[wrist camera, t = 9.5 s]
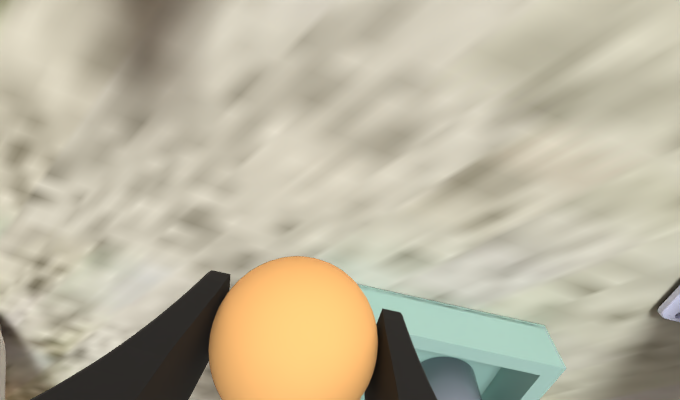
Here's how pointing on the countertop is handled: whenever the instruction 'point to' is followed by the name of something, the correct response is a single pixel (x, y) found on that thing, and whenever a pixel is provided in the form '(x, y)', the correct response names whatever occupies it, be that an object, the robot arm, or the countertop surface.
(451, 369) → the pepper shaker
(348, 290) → the ball
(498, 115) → the countertop surface
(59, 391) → the robot arm
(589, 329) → the countertop surface
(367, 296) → the tray
